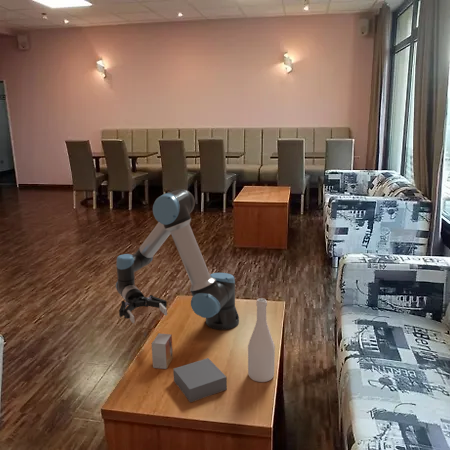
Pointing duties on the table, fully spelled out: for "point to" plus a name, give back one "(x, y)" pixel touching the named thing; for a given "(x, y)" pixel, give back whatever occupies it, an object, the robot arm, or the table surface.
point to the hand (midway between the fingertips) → (150, 316)
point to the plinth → (199, 379)
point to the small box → (162, 351)
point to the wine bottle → (261, 347)
